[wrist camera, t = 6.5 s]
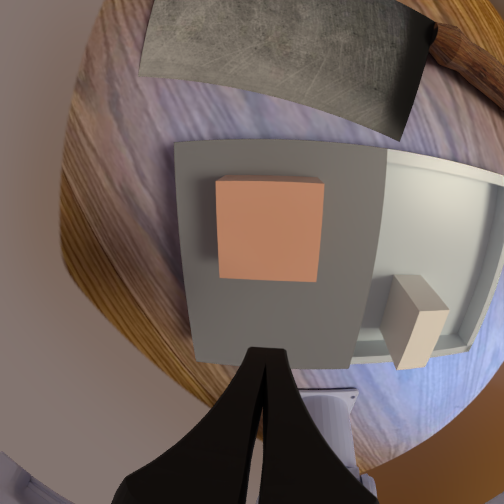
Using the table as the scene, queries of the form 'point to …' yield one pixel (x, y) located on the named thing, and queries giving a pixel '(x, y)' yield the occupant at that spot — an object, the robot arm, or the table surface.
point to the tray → (437, 246)
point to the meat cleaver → (315, 53)
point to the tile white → (412, 321)
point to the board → (281, 292)
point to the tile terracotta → (269, 227)
